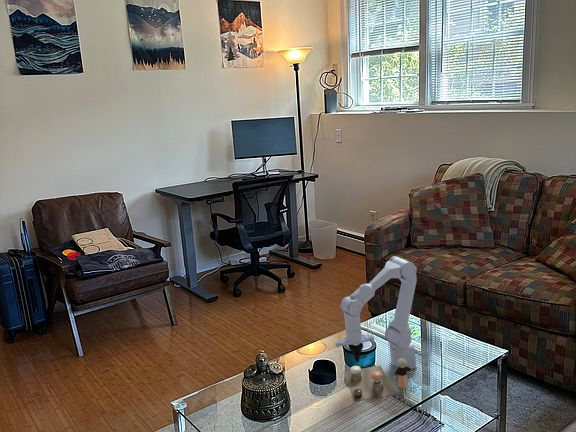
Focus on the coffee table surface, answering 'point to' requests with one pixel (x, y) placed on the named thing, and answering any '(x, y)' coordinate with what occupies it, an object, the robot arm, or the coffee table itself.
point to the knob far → (355, 370)
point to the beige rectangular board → (369, 383)
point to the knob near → (376, 376)
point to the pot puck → (357, 393)
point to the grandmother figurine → (402, 373)
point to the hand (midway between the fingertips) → (356, 360)
